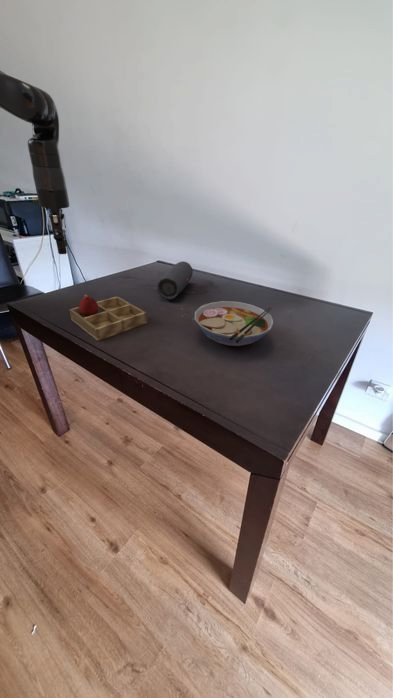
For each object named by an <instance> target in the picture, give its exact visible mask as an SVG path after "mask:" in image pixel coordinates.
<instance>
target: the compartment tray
mask: <svg viewBox="0 0 393 698" xmlns="http://www.w3.org/2000/svg"><path fill="white" fill-rule="evenodd" d="M96 302H97V304H98V307H99V310H98V312H97V314H95V315H91V316H88V317H86V316H84V315H82V314H81V313H80V311H79V306H76V307H73V308H69V309H68V311H69V315H70V319H71V321H72V322H73V323H74V324H76V325H77V326H79V327H80V329H82V330H83V331H85V332H86V333H87V334H88V335H90V336H91V337H92V338H93V339H94V340H96V341H97V342H99V341H102V340H105V339H107V338H110V337H113V336H117V335H119V334H121V333H124V332H127V331H130V330H133V329H135V328H137V327H141V326H144V325H146V324H148V315H147V314H148V313H147V311H144V310H143V309H141V308H139V307H138V306H136V305H134V304H132V303H131V302H130V301H129V302H128V301H127V300H125V299H124V298H121V297H120V296H113V297H110V298H106V299H102V300H99V301H96Z"/></svg>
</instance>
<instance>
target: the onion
mask: <svg viewBox="0 0 393 698" xmlns="http://www.w3.org/2000/svg"><path fill="white" fill-rule="evenodd" d="M97 302H98V301H96V300H95V299H94V298H93V297H91V296H88V294H83V298H81V300H80V301H79V303H78V307H79V311H80V313H81V314H82V315H84V316H86V317H88V316H91V315H95V314H97V312H98V310H99V307H98V304H97Z"/></svg>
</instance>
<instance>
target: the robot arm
mask: <svg viewBox="0 0 393 698" xmlns="http://www.w3.org/2000/svg"><path fill="white" fill-rule="evenodd" d="M0 109H2V110H4V111H5V112H7V113H8V114H10V115H12V116H14V117H16V118H18V119H20V120H21V121H24V122H26V123H29V124H31V129H32V131H31V132H32V136H31V137H30V138H29V139H28V140H27V150H28V152H29V153H28V154H29V159H30V163H31V168H32V177H33V182H34V187H35V192H36V196H37V201H38V205H39V207H40V208H43V209H49V210H50V211H49V212H50V213H48V220H49V221H48V222H49V223H50V230H51V232H52V234H53V236H52V237H53V239H54V240H55V244H56V248H57V253H58V255H67V253H68V251H67V247H68V241H67V235H66V232H67V230H66V228H67V224H66V215H65V213H63V209H68V208H69V207H70V200H69V194H68V188H67V181H66V176H65V172H64V170H63V164H62V163H63V162H62V158H61V157H62V156H61V152H60V148H59V146H60V145H59V144H60V118H59V112H58V108H57V105H56V102H55V100H54V99H53V97H52V96H51V95H50V94H49V93H48V92H47V91H46V90H43V89H41V88H39V87H37V86H35V85H33V84H30V83H28V82H26V81H23V80H21V79H19V78H15V77H13V76H12V75H10V74H9V75H8V74H6V72H4V71H2V70H0Z"/></svg>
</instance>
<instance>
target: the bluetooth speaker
mask: <svg viewBox="0 0 393 698" xmlns="http://www.w3.org/2000/svg"><path fill="white" fill-rule="evenodd" d="M193 270H194V269H193V267H192V266H191V264H190V263H189V262H187V261H179V262H177V263H175V264H174V265H173V266H172V267H170V268H169V269H168V270H167V271H166V272H165V273H164V274H163V275H162V276H161V278H160V279H159V281H158V282H157V286H156V289H157V292H158V295H160V297H161V298H162V299H165V300H173V299H175V298H176V297H178V296H179V295H180V294H181V293H182V292H183V290H184V289H185V288H186V287H187V285H188V284H189V282H190V280H191V279H192V276H193V274H194V271H193Z"/></svg>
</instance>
